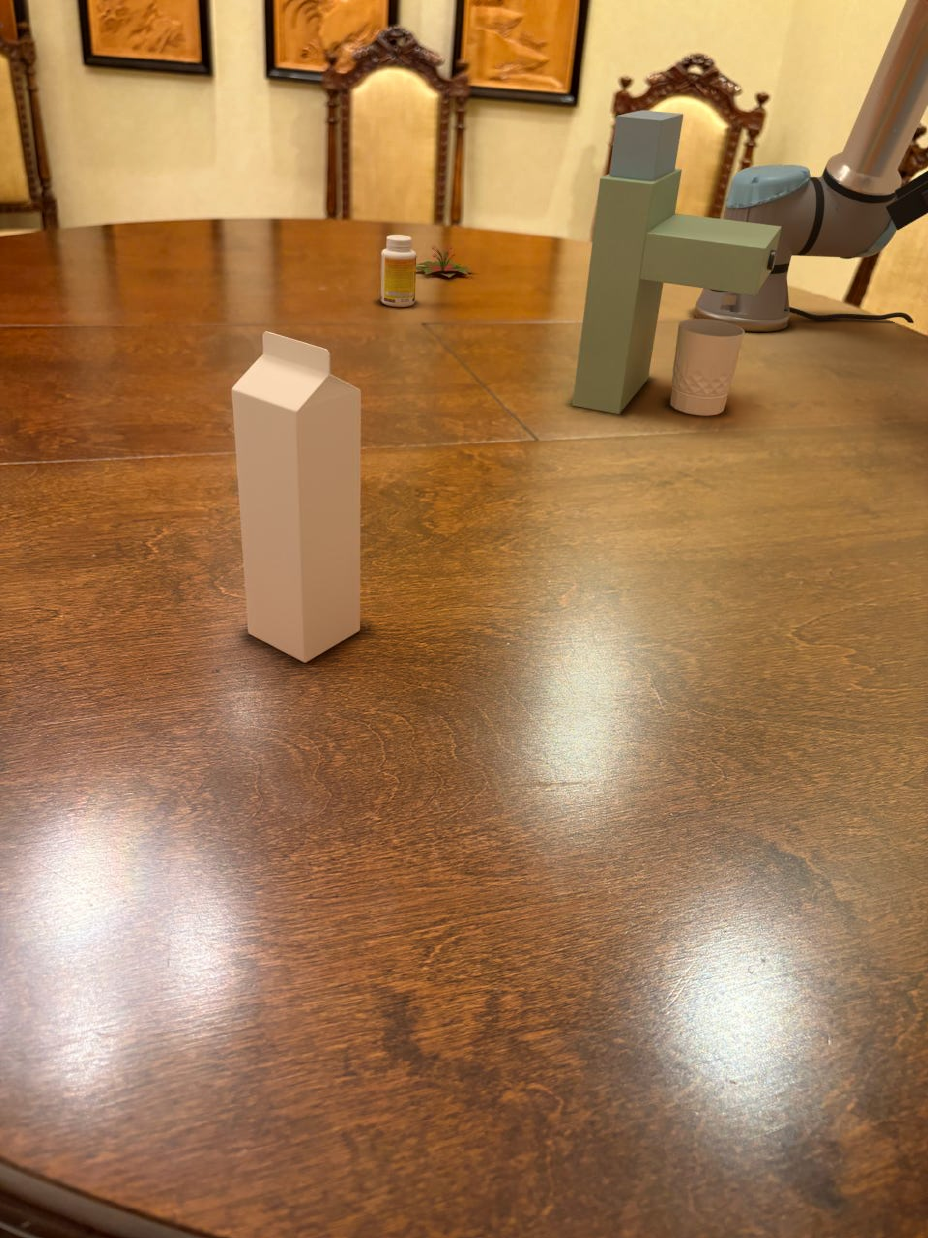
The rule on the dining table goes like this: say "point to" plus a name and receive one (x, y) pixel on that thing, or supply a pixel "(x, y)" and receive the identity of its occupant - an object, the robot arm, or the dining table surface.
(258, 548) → the milk
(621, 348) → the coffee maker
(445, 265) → the green leafy plant
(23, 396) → the dining table surface
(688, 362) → the beige cup
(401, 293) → the supplement bottle
